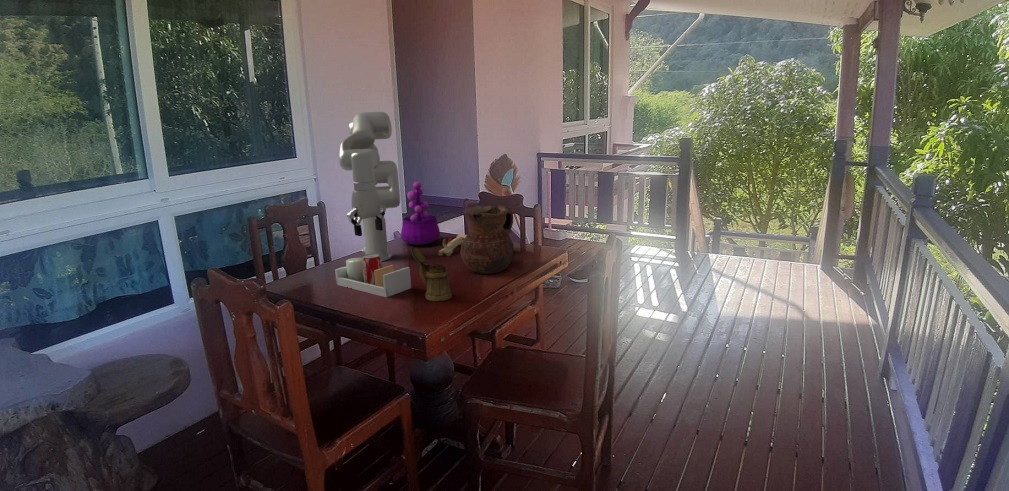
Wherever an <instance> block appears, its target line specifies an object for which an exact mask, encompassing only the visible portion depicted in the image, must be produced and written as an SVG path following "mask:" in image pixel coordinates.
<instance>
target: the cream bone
mask: <svg viewBox="0 0 1009 491" xmlns="http://www.w3.org/2000/svg"><path fill="white" fill-rule="evenodd" d="M467 235H468V234H458V235H456V236H455V237H456V238H454V239H452V238H453V236H452V237H449V238H448V240H447V239H446V238H443V239H442V246H443V247H444V248H443V247H442V248H441V249H440V250H438V252H437V254H438V256H439V257H442V256H444V255H445V256H446V257H450V256H452V254H453V253H454V252H453V250H454V249H455V248H456V247H458V246H460V245H462V243H463V241H464V239H465V238H466V236H467Z"/></svg>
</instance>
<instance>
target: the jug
mask: <svg viewBox="0 0 1009 491" xmlns="http://www.w3.org/2000/svg"><path fill="white" fill-rule="evenodd" d="M463 213H464V214H465V216H466V217H467V219H468V222H469V229H470V230H469V232H468V233H467V234H466V235H467V236H466V238H465V239H464V241H463V243H462V245H461V246H460V257H461V260H462V262H463V264H465V267H466V268H468V269H469V270H470V271H472V272H474V273H476V274H477V273H478V274H483V275H488V274H489V275H490V274H491V275H492V274H496V273H500V272H503V271H504V270H505V269H507V268H508V267H509V265H510V263H511V261H512V260H513V255H514V250H515V247H514V246H515V245H514V241H513V240H512V239H511V236H510V233H511V229H512V227H513V224H514V214H513V210H512V209H511V208H510V207H508V206H507V205H506V206H505V205H502V204H498V205H489V204H487V205H470V206H468V207H465V208H464V210H463Z"/></svg>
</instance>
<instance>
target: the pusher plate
mask: <svg viewBox="0 0 1009 491" xmlns="http://www.w3.org/2000/svg"><path fill="white" fill-rule="evenodd" d="M394 268H395V267H394V264H390V265H387V266H382V268H380V269H377V270H374V275H375V286H380V287H384V286H383V275H385V274H388V273H391V272H394V271H395V269H394Z"/></svg>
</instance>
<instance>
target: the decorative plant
mask: <svg viewBox="0 0 1009 491" xmlns="http://www.w3.org/2000/svg"><path fill="white" fill-rule="evenodd" d="M412 188H413V189H414V190H410V191H408V192H407V195H406V197H407V199H408V200H410V201H409V203H408V207H409V208H410V210H413V211H414V212H415V213H414V214H412V215H411V216H406V217H404V218H402V227H401V231H400V239H401V240H402V241H403V242H404V243H407V244H410V245H415V246H416V245H417V246H419V245H420V246H421V245H428V244H431V243H434V242H436V241H438V240H439V238H440V236H441V230H440V227H439V224H438V220H437V217H436V216H435V215H432V214H431V215H430V214H429V212H428V211H427V209H428V208H429V203H428V202H427V201H426V200H425V201H421V196H422V195H423V194H424V190H422V189H421V188H422V184H421V182H419V181H414V182H413V184H412Z"/></svg>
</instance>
